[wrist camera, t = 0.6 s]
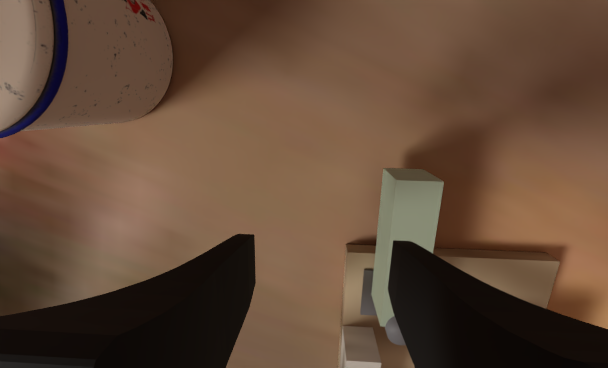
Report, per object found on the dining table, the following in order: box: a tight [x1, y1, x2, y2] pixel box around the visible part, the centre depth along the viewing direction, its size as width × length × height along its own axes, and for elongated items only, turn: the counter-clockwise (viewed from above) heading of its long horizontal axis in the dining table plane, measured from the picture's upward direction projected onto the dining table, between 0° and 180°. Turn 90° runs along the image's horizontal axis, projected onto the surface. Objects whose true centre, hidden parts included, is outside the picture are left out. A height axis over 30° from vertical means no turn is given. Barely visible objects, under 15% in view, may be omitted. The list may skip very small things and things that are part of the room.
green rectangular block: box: [371, 168, 444, 345], centre depth 17 cm, size 2×10×3 cm, turn 179°
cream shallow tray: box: [338, 244, 560, 368], centre depth 20 cm, size 14×14×4 cm
